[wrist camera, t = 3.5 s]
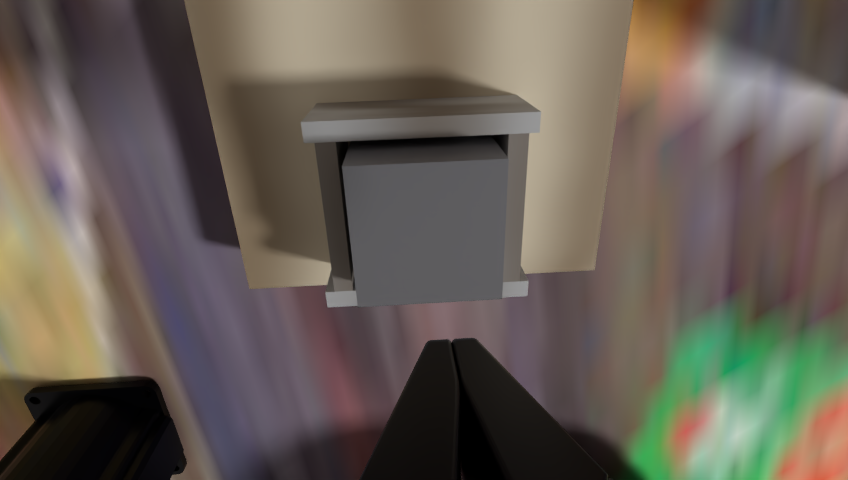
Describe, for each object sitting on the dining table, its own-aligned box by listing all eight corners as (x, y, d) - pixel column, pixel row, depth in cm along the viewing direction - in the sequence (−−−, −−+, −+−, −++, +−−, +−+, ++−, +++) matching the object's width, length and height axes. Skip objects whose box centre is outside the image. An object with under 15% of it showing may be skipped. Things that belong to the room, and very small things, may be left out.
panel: (267, 254, 22) (225, 335, 16) (137, -397, 13) (-50, -693, 7) (570, 238, 22) (626, 311, 17) (643, -401, 13) (812, -680, 8)
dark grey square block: (363, 260, 17) (357, 307, 14) (351, 138, 15) (341, 166, 12) (485, 253, 17) (502, 298, 14) (488, 132, 15) (509, 158, 12)
